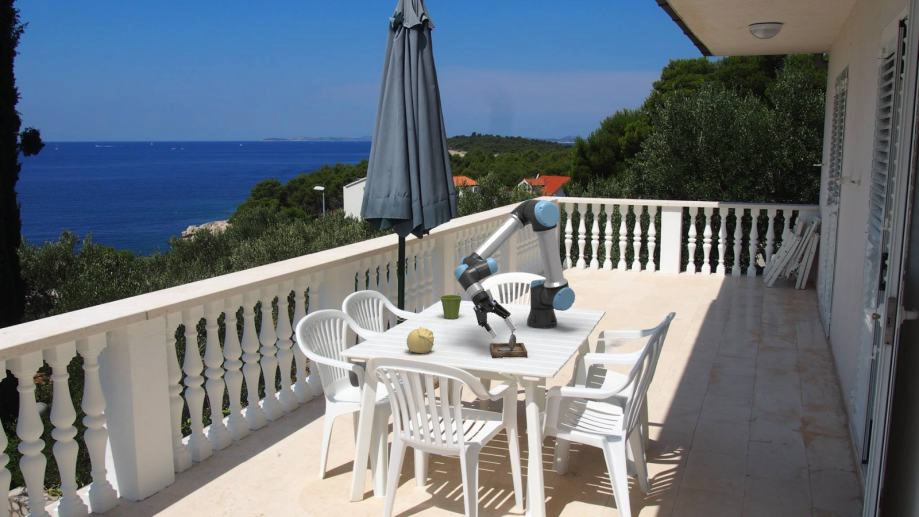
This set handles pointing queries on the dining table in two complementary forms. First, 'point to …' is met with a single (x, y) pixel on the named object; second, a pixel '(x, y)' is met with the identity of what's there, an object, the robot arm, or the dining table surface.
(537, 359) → the dining table surface
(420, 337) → the yellow lumpy ball
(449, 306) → the plant pot
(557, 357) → the dining table surface
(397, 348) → the dining table surface
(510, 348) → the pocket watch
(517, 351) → the walnut tray
